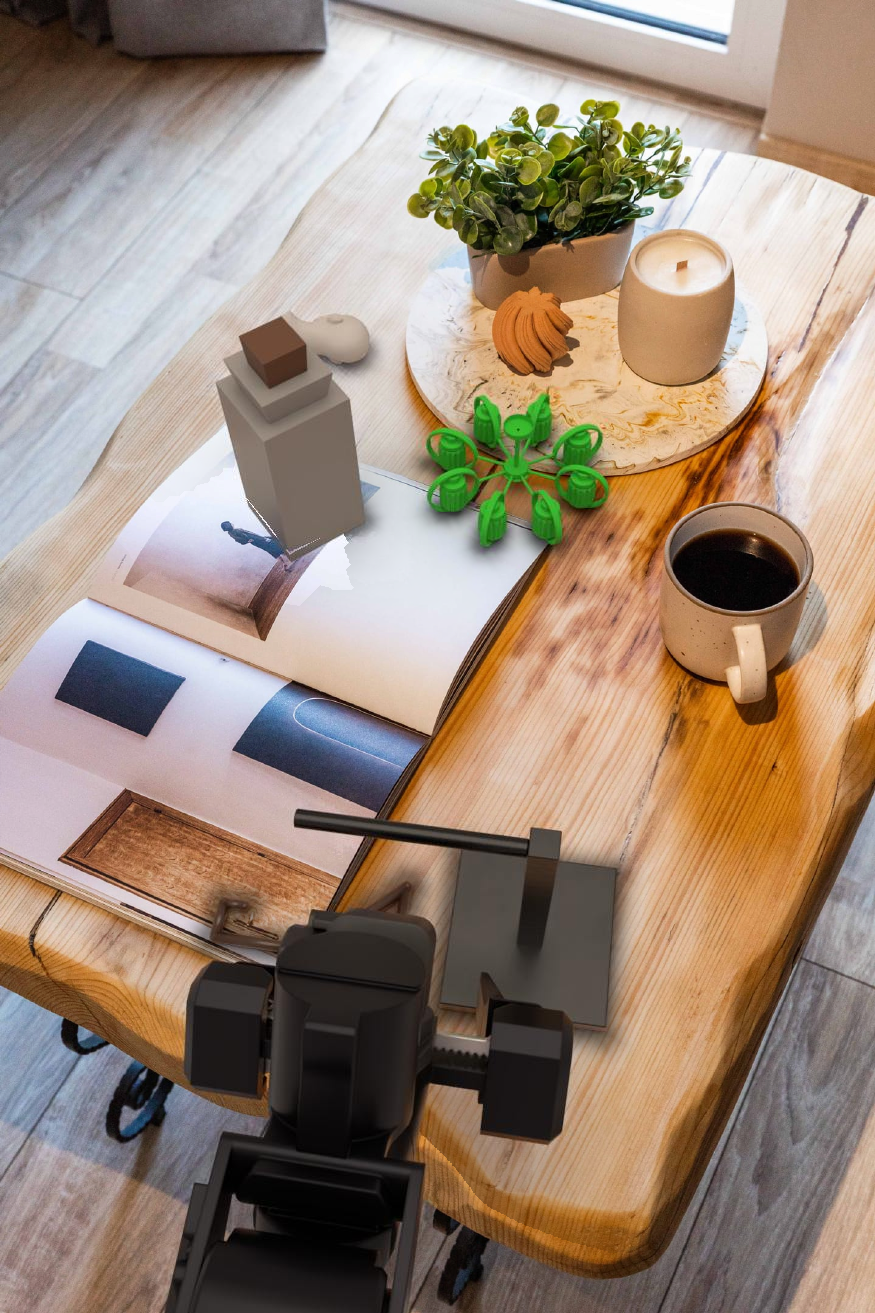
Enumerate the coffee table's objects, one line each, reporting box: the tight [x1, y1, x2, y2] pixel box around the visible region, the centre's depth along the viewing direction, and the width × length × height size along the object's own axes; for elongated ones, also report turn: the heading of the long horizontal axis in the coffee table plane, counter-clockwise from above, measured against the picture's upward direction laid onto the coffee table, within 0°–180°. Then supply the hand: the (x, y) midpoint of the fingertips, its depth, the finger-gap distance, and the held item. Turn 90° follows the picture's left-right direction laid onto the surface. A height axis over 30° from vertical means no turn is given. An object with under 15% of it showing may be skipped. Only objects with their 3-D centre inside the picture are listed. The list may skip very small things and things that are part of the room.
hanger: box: [209, 880, 414, 953], centre depth 69 cm, size 11×1×12 cm
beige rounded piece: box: [281, 311, 371, 365], centre depth 96 cm, size 4×8×5 cm
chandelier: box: [425, 392, 610, 548], centre depth 86 cm, size 15×15×7 cm
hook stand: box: [293, 808, 618, 1033], centre depth 63 cm, size 10×18×16 cm, turn 82°
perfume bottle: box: [215, 315, 366, 563], centre depth 80 cm, size 7×7×18 cm
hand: (402, 968), depth 62 cm, fingers open, 9 cm apart
